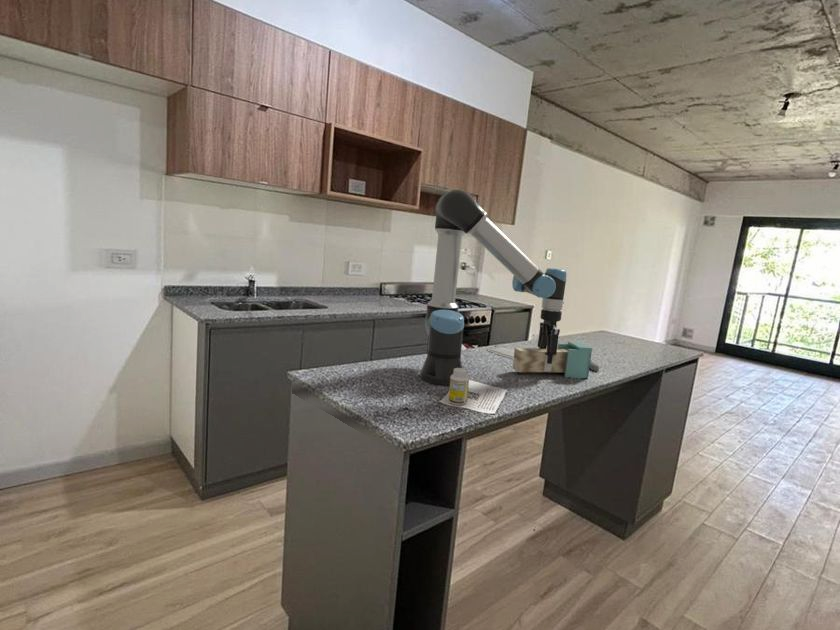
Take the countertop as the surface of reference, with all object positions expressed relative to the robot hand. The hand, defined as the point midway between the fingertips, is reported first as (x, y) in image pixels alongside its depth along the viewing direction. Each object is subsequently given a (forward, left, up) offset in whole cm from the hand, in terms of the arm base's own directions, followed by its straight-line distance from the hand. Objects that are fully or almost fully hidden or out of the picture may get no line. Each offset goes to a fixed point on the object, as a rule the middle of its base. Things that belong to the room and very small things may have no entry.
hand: (544, 368), depth 175 cm
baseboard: (-2, +21, -3) cm, 21 cm away
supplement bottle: (-41, -35, -2) cm, 54 cm away
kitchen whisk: (+26, +21, -2) cm, 33 cm away
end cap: (+11, 0, -2) cm, 11 cm away
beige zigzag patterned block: (0, 0, -1) cm, 1 cm away
